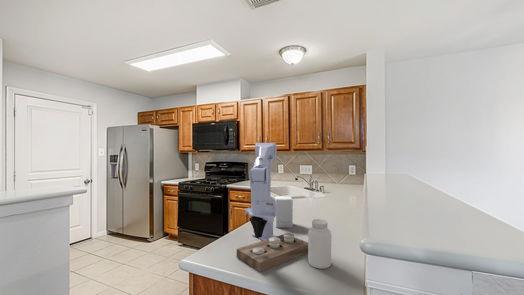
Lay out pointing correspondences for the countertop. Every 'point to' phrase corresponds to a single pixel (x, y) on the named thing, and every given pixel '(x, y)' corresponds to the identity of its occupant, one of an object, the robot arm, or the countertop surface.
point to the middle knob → (274, 243)
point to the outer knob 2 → (288, 238)
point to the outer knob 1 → (258, 251)
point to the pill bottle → (319, 244)
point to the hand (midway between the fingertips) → (258, 237)
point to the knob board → (271, 253)
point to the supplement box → (284, 212)
